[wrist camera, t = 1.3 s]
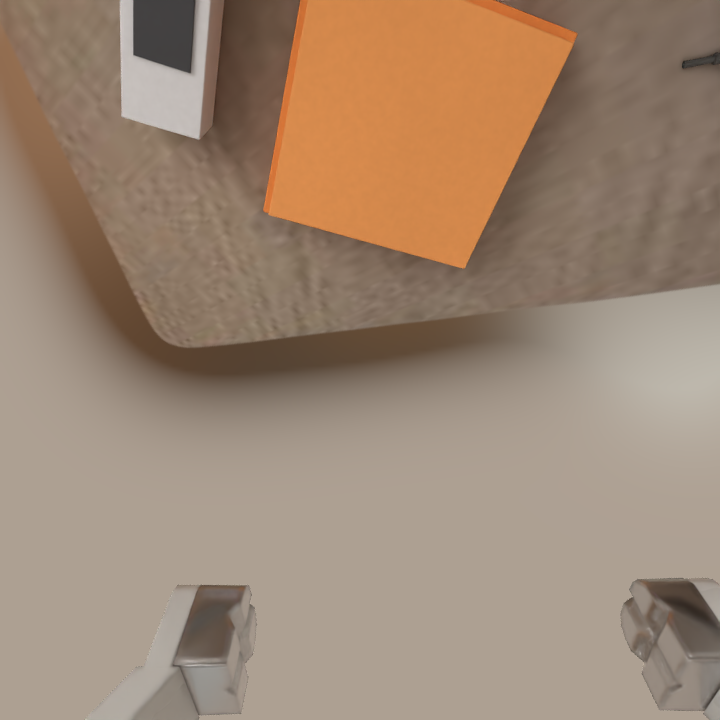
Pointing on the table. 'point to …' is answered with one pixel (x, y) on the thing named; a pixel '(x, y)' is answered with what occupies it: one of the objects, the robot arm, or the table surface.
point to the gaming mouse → (702, 61)
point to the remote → (170, 63)
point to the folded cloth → (409, 118)
